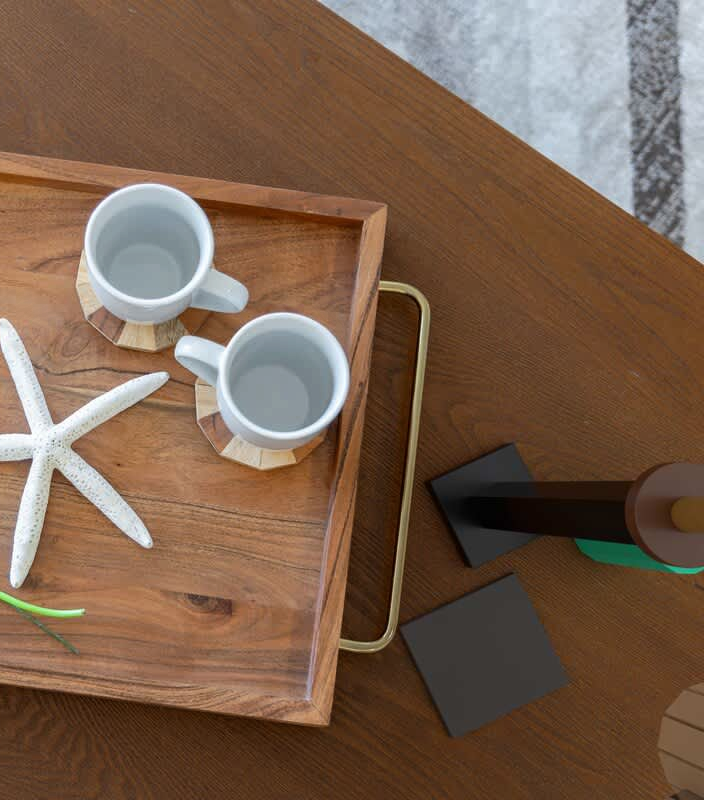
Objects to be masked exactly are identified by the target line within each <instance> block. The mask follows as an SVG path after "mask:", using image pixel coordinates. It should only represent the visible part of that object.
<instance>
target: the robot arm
mask: <svg viewBox="0 0 704 800" xmlns="http://www.w3.org/2000/svg"><path fill="white" fill-rule="evenodd" d="M662 800H704V798H703V797H701V796H699V795H697V794H692V793H691V791H689V790H687V789H685V790H683V791H680V792H678V793H677V792H675V793H674V794H672V795H670V796H668V797H666V798H664V799H662Z"/></svg>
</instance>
